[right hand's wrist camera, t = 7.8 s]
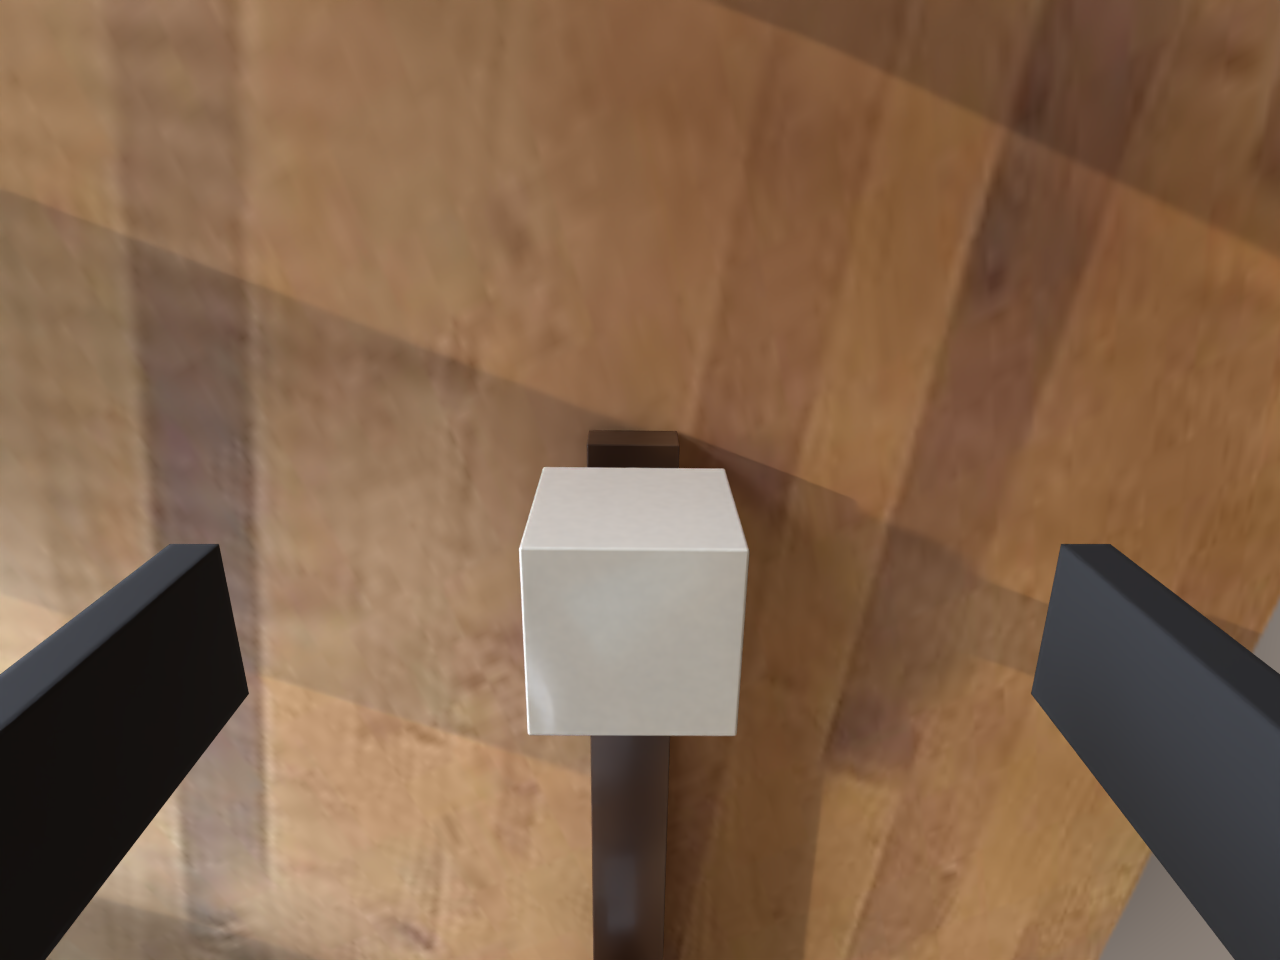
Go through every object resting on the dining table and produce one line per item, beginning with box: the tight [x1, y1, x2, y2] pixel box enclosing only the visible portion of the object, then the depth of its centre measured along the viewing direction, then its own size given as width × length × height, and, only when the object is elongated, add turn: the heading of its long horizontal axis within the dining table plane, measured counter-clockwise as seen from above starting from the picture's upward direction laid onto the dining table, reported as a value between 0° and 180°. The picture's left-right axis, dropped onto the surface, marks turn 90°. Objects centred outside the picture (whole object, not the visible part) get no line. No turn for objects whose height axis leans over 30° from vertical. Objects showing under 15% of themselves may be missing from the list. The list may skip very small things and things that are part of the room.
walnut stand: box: [587, 431, 679, 960], centre depth 39 cm, size 5×36×8 cm, turn 179°
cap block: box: [519, 467, 750, 736], centre depth 29 cm, size 7×7×7 cm
